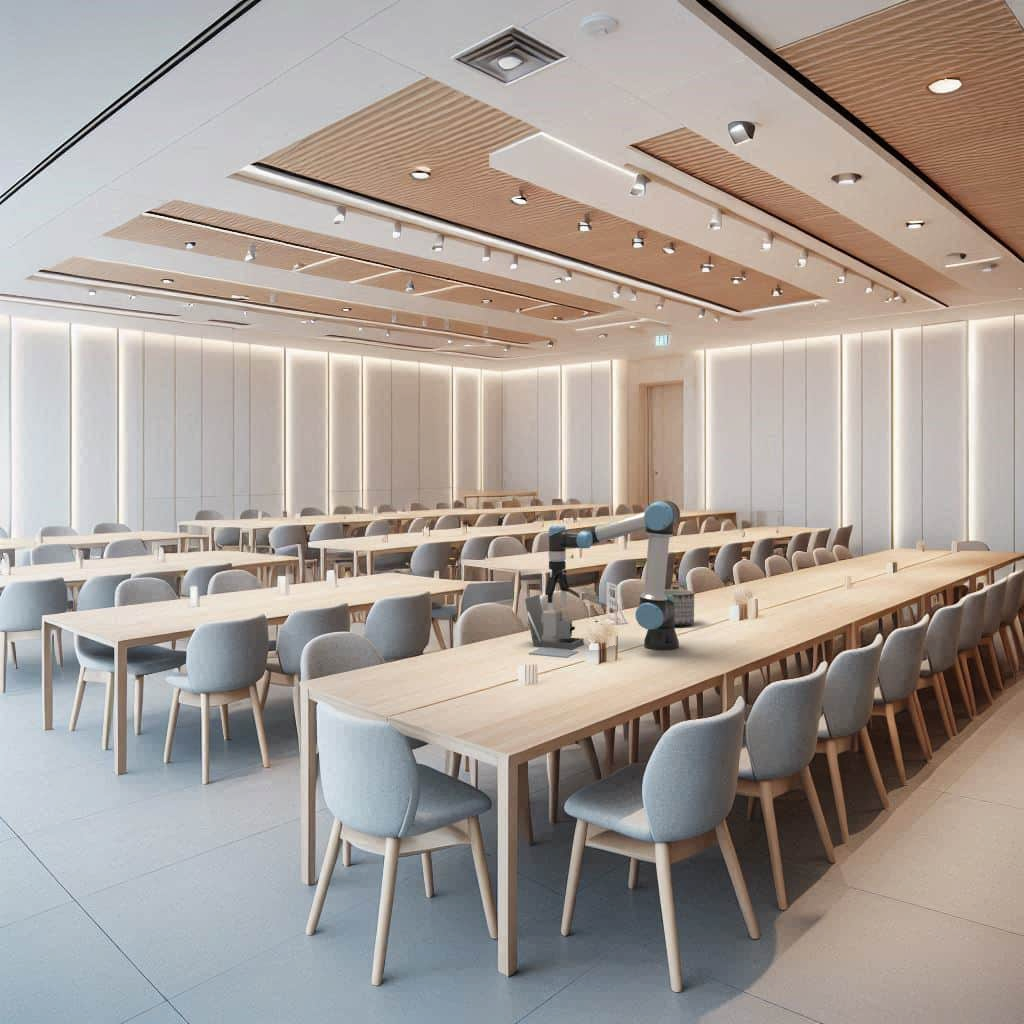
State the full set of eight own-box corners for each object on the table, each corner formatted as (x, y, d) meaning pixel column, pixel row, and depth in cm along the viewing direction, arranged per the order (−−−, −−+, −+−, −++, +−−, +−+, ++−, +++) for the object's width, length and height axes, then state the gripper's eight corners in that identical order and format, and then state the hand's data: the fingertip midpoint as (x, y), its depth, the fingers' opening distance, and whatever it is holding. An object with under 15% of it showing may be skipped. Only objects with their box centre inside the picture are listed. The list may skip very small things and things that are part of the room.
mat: (578, 652, 367) (578, 651, 367) (567, 657, 357) (567, 656, 357) (540, 648, 376) (540, 647, 376) (528, 654, 365) (528, 653, 365)
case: (583, 644, 384) (583, 597, 383) (571, 650, 372) (570, 601, 371) (538, 640, 395) (537, 594, 394) (524, 645, 382) (524, 598, 381)
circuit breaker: (573, 647, 378) (573, 613, 377) (541, 646, 381) (541, 613, 380) (575, 643, 385) (575, 610, 384) (544, 643, 388) (544, 610, 387)
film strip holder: (593, 620, 442) (592, 582, 442) (618, 619, 446) (618, 581, 445) (602, 625, 428) (602, 586, 428) (628, 624, 432) (628, 584, 431)
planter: (649, 626, 424) (649, 593, 424) (664, 620, 441) (663, 588, 440) (686, 629, 414) (686, 595, 413) (700, 623, 431) (699, 590, 430)
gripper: (561, 557, 394) (561, 602, 395) (537, 562, 372) (537, 611, 373) (576, 558, 390) (576, 604, 391) (553, 563, 368) (553, 612, 369)
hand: (557, 607), depth 382 cm, fingers open, 13 cm apart
